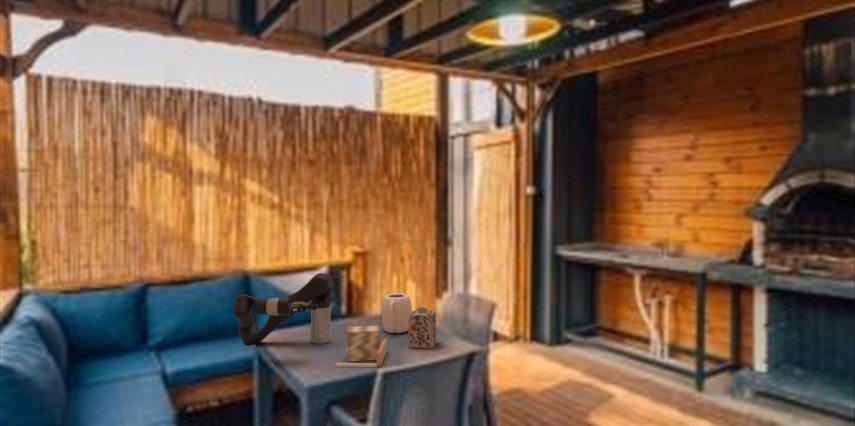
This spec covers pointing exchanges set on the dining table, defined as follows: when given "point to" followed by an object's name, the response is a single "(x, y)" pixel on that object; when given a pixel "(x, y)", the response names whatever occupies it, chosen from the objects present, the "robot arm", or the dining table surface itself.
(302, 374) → the dining table surface
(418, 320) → the decorative jar
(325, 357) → the dining table surface
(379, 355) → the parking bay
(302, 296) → the robot arm
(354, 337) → the wooden block
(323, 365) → the dining table surface
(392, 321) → the beige pitcher
